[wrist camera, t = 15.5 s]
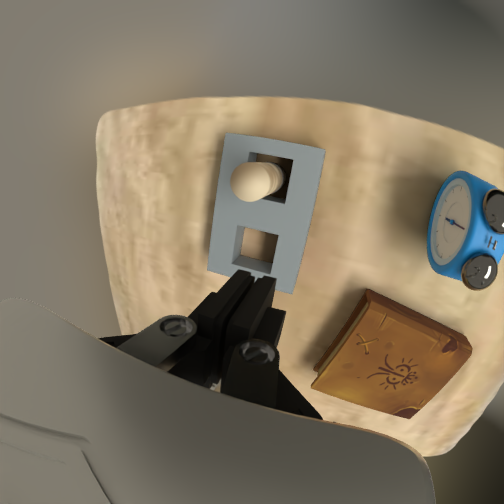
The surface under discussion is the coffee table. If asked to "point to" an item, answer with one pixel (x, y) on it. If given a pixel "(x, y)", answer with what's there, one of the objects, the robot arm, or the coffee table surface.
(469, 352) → the diary
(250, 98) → the coffee table surface
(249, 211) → the board
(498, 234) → the alarm clock
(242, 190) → the dowel
